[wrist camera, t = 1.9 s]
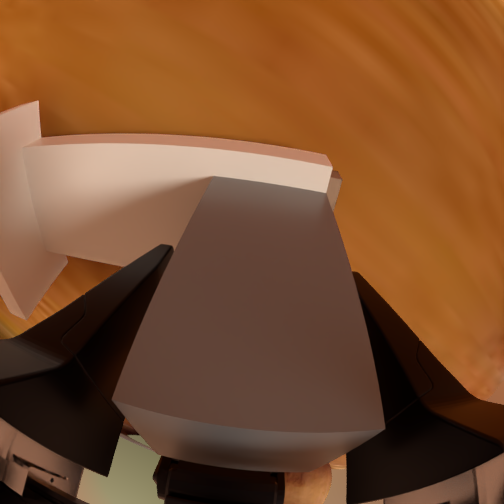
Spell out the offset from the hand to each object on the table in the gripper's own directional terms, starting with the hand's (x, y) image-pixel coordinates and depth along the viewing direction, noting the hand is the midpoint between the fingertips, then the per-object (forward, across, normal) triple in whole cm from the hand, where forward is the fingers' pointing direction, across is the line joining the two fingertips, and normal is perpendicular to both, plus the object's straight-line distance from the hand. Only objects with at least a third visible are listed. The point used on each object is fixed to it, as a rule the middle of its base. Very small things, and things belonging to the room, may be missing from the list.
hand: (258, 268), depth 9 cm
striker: (+4, +5, 0) cm, 7 cm away
